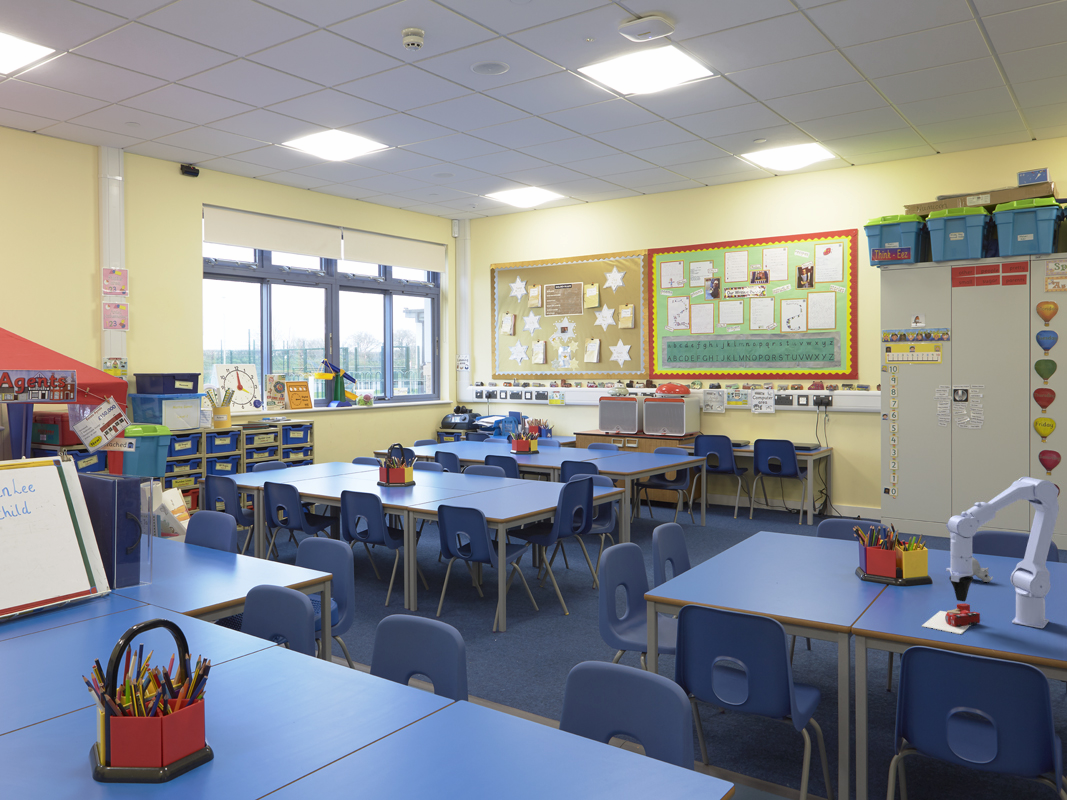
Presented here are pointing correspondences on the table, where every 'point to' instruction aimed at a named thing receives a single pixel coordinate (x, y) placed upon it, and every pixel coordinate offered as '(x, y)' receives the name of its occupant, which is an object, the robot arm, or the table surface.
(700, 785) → the table surface
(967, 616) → the toy fire truck
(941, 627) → the mat
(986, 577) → the chubby cartoon animal
